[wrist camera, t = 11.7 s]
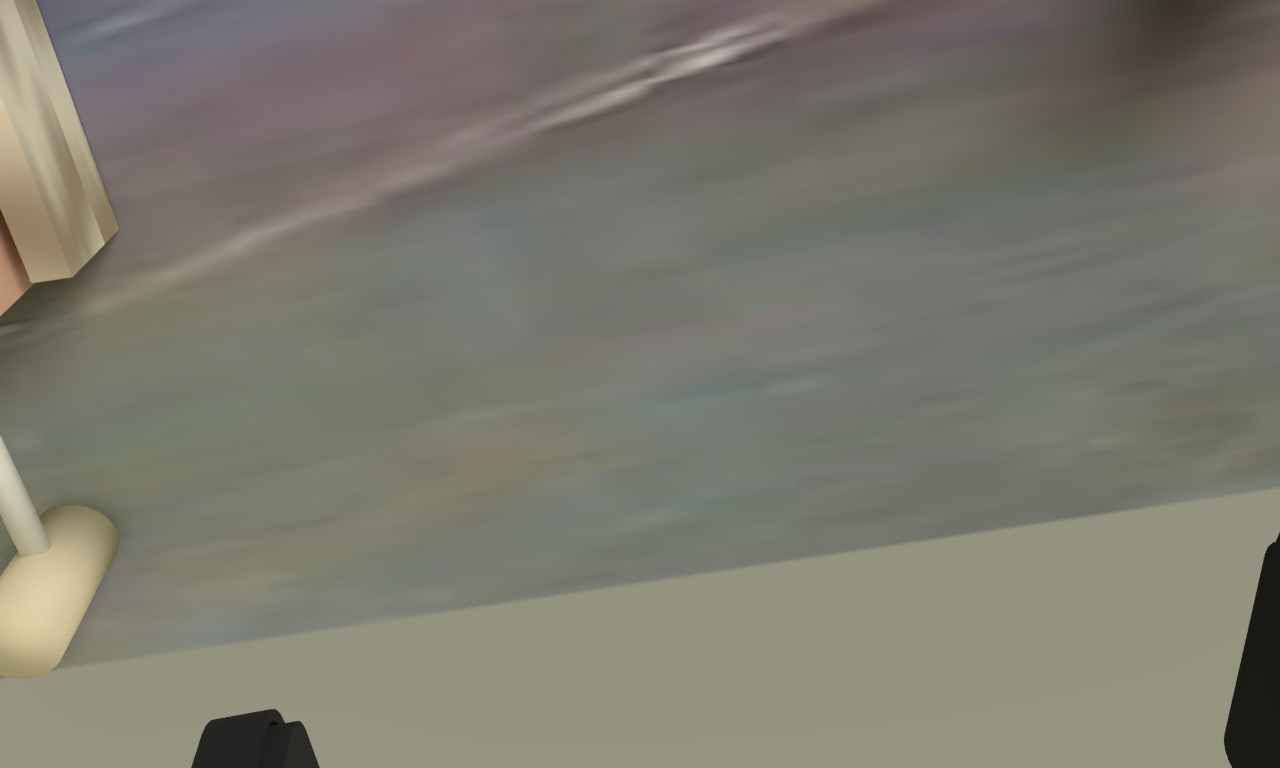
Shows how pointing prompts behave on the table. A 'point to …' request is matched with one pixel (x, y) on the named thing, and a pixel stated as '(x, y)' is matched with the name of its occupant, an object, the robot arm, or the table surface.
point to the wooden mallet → (43, 545)
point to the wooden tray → (45, 155)
